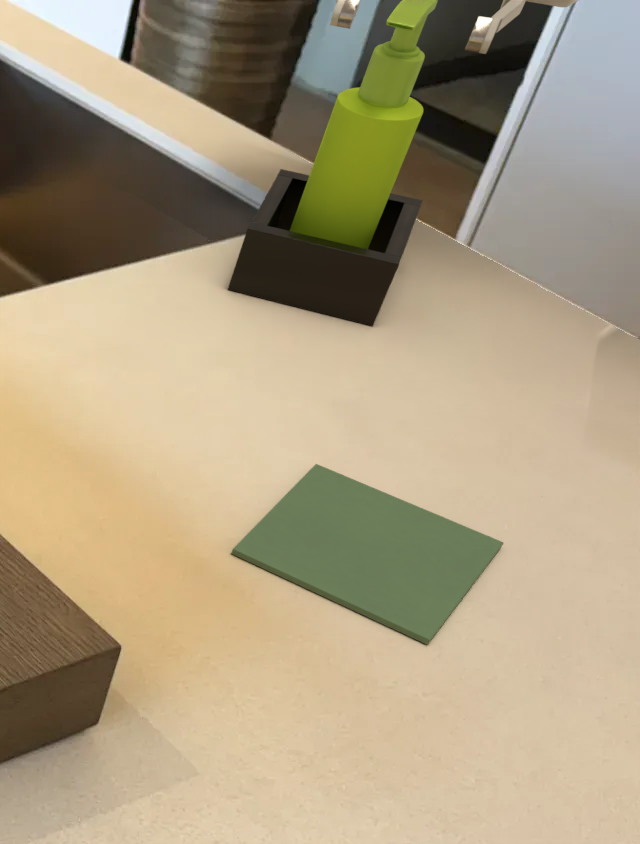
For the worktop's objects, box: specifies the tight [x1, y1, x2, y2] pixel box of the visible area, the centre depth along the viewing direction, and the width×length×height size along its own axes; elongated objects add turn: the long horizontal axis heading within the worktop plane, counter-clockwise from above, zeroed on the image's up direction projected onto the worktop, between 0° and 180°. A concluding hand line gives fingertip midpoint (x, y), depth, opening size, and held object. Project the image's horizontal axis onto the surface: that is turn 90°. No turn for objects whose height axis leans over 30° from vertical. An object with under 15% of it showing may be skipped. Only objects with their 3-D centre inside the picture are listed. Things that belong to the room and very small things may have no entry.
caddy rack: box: [227, 168, 424, 327], centre depth 105 cm, size 12×11×5 cm
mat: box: [231, 463, 504, 645], centre depth 83 cm, size 12×12×1 cm
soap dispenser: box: [290, 0, 439, 249], centre depth 100 cm, size 6×7×20 cm
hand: (407, 35), depth 99 cm, fingers open, 8 cm apart
